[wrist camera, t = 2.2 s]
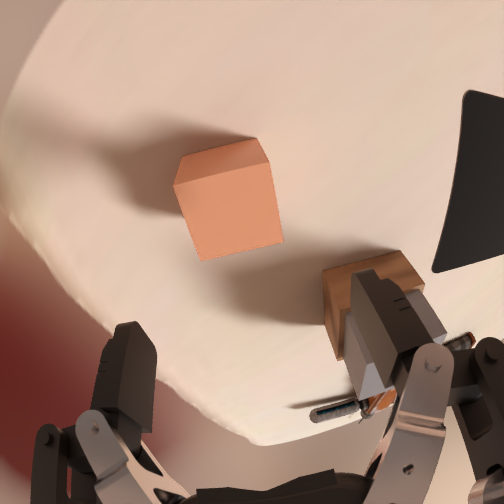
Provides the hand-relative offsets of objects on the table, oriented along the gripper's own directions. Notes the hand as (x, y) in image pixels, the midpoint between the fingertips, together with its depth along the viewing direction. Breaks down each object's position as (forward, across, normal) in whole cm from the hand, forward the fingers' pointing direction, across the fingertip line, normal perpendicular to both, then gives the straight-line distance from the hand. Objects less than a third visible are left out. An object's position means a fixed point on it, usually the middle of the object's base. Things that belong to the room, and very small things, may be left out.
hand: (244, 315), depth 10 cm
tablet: (+12, -33, +6) cm, 36 cm away
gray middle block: (+7, -10, +14) cm, 19 cm away
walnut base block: (+12, -10, +14) cm, 21 cm away
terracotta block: (+12, 0, 0) cm, 12 cm away
